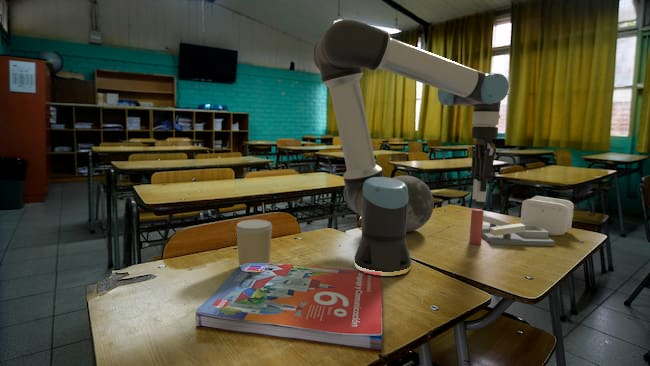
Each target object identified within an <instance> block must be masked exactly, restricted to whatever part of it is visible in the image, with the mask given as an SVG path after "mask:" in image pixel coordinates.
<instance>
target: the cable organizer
mask: <svg viewBox="0 0 650 366" xmlns="http://www.w3.org/2000/svg"><path fill="white" fill-rule="evenodd" d="M574 208H575V204H574V203H573V202H572V201H571V200H568V199H561V198H554V197H547V196H541V195H535V196H533V197H531V198H527V199H525V200H523V201H522V204H521V213H520V222H519V223H521V224H523V225H536V226H538V227H540V228H542V229H544V230H546V231H548V232H549V233H548V235H550V236H561V235H564V234H566V232H567V231H568V230H570V229H572V224H573V216H574Z"/></svg>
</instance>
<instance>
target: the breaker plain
mask: <svg viewBox="0 0 650 366" xmlns="http://www.w3.org/2000/svg"><path fill="white" fill-rule="evenodd" d="M483 223H488V224H490V223H491V224H494V225H497V226H504V225H511V224H510V222H509V221H507V220H504V219H501V218H496V217H494V216H490V215H487V214H484V213H483Z"/></svg>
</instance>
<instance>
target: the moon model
mask: <svg viewBox="0 0 650 366" xmlns="http://www.w3.org/2000/svg"><path fill="white" fill-rule="evenodd" d="M391 178H392V179H397V180H400V181H402V182H403V183H405V184H406V186H407V188H408V207H407V224H406V233H407V232H413V231H417V230H418V229H420V228H422V227H423V226H424V225H426V224H427V222H428V221H430V219H431V218H432V217H431V216H432V215H433V213H434V207H435V204H434V196H433V194H432V190H431V189H430V188H429V186H428V185H427V184H426V183H425V182H424V181H422V180H421V179H419V178H418V177H415V176H411V175H406V174H405V175H398V176H394V177H391Z"/></svg>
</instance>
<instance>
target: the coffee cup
mask: <svg viewBox="0 0 650 366" xmlns="http://www.w3.org/2000/svg"><path fill="white" fill-rule="evenodd" d="M235 230H236V231H235V232H236V244H237V251H238V252H237V255H238V265H239V266H240V265H243V264H245V263H270V264H271V249H272V247H271V246H272V234H273V233H272V231H273V224H272V223H271V221H269V220H267V219H266V220H265V219H258V218H257V219H256V218H255V219H254V218H253V219H246V220H240V221H239V222H237V223H236V226H235Z"/></svg>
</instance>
